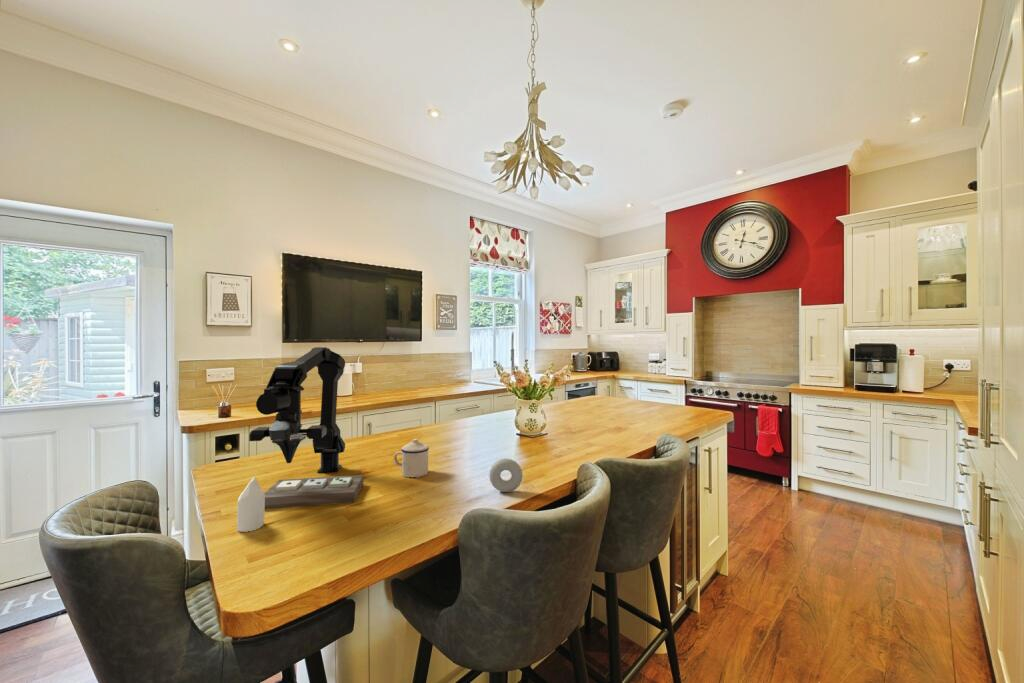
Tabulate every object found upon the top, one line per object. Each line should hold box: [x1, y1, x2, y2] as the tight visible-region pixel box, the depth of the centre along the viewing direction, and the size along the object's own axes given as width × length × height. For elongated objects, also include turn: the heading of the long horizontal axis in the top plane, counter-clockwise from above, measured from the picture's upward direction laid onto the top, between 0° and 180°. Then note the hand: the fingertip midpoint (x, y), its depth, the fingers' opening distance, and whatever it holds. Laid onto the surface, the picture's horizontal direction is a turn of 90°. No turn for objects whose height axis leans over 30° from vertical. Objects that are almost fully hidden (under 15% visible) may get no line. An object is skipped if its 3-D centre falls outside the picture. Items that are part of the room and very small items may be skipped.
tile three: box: [330, 477, 352, 488], centre depth 116 cm, size 5×5×3 cm
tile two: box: [303, 479, 327, 490], centre depth 114 cm, size 5×5×3 cm
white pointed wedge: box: [236, 476, 266, 533], centre depth 95 cm, size 6×12×6 cm
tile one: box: [276, 480, 301, 491], centre depth 113 cm, size 5×5×3 cm
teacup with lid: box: [393, 438, 430, 479], centre depth 134 cm, size 12×9×12 cm
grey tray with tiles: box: [264, 474, 364, 510], centre depth 114 cm, size 14×24×3 cm, turn 101°
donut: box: [489, 458, 524, 493], centre depth 118 cm, size 10×4×10 cm, turn 89°
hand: (289, 462), depth 113 cm, fingers closed
